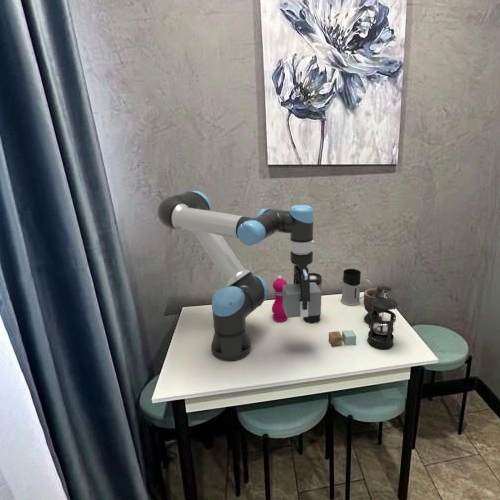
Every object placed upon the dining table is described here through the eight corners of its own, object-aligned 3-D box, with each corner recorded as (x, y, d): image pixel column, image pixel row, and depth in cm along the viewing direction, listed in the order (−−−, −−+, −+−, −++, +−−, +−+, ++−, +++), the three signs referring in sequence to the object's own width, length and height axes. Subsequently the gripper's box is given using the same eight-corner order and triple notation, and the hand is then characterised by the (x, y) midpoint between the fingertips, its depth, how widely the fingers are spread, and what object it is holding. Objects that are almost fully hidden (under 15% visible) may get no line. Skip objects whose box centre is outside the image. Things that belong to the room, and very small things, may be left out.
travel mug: (319, 314, 155) (321, 272, 148) (321, 324, 148) (322, 280, 141) (302, 314, 156) (302, 272, 149) (302, 323, 149) (303, 280, 142)
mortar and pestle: (393, 327, 143) (398, 282, 136) (374, 332, 141) (378, 286, 134) (375, 314, 153) (379, 271, 147) (358, 318, 151) (361, 275, 144)
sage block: (345, 345, 133) (345, 336, 132) (341, 339, 137) (342, 330, 136) (355, 345, 133) (356, 335, 132) (351, 339, 137) (352, 330, 136)
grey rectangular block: (286, 317, 124) (286, 294, 121) (282, 306, 131) (282, 284, 128) (320, 315, 125) (321, 291, 122) (314, 304, 132) (315, 282, 129)
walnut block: (331, 347, 133) (332, 338, 131) (328, 341, 137) (328, 332, 135) (342, 346, 133) (342, 337, 132) (338, 340, 137) (339, 331, 136)
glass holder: (348, 295, 171) (349, 266, 166) (374, 305, 160) (377, 275, 155) (336, 301, 166) (338, 272, 160) (363, 312, 155) (365, 281, 150)
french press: (400, 347, 131) (407, 291, 123) (378, 353, 128) (383, 296, 120) (380, 331, 141) (385, 278, 133) (359, 336, 139) (363, 282, 131)
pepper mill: (289, 314, 156) (289, 273, 149) (287, 323, 150) (287, 280, 143) (273, 313, 158) (272, 271, 151) (270, 321, 151) (269, 278, 145)
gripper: (321, 261, 111) (319, 324, 119) (305, 240, 130) (304, 296, 138) (297, 263, 110) (297, 326, 118) (285, 242, 130) (285, 297, 138)
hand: (301, 310), depth 128 cm, fingers closed on grey rectangular block, 8 cm apart
